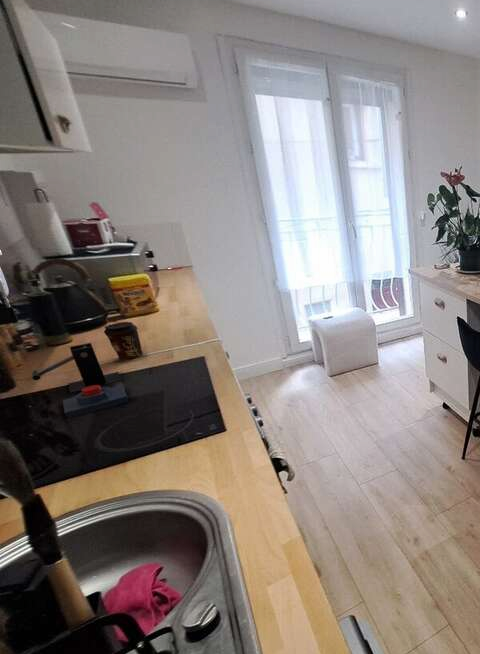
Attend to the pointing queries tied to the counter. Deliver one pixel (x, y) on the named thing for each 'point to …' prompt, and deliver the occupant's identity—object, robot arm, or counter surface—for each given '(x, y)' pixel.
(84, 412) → the igniter
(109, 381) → the lever bracket
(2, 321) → the robot arm
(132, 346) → the coffee cup
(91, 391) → the igniter button
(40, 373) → the lever
